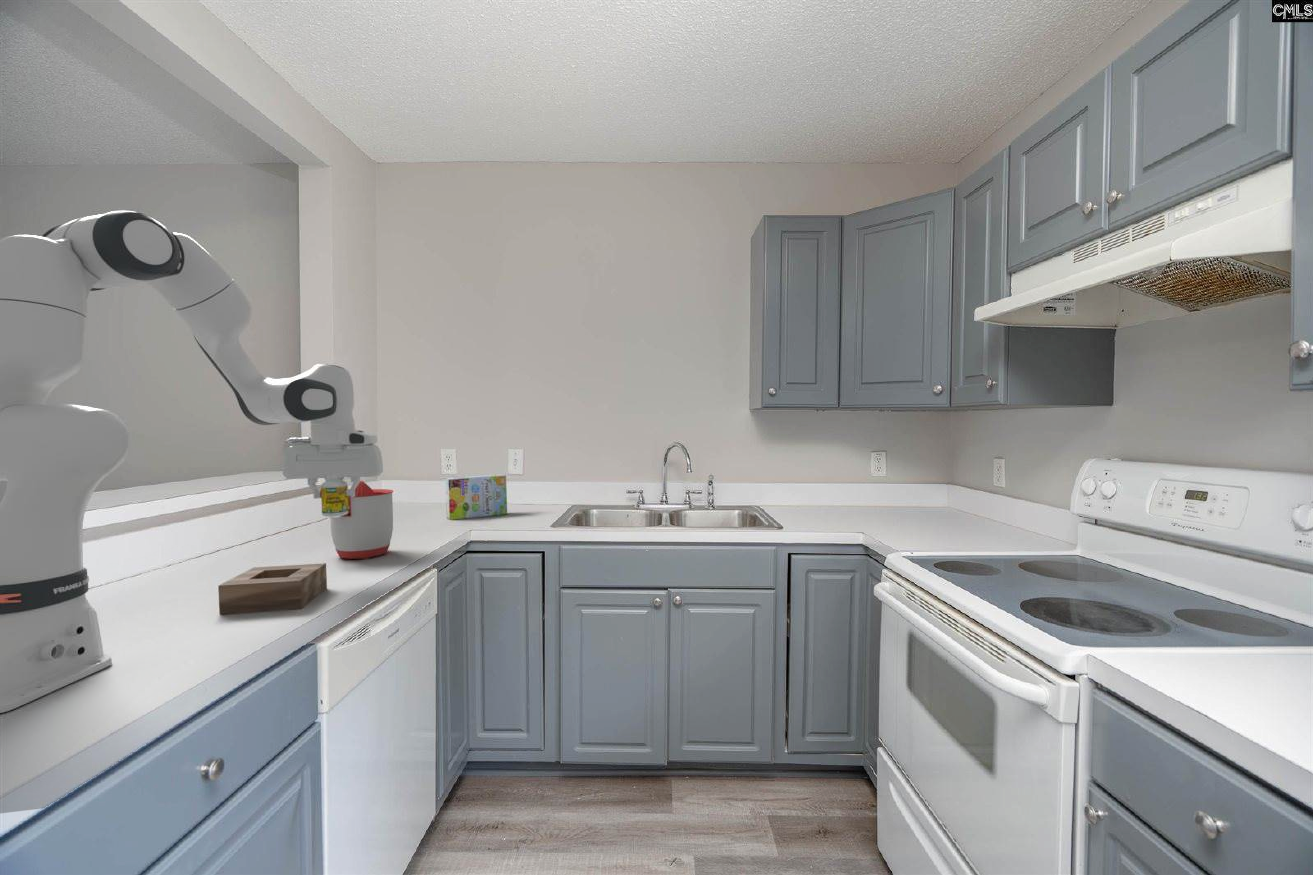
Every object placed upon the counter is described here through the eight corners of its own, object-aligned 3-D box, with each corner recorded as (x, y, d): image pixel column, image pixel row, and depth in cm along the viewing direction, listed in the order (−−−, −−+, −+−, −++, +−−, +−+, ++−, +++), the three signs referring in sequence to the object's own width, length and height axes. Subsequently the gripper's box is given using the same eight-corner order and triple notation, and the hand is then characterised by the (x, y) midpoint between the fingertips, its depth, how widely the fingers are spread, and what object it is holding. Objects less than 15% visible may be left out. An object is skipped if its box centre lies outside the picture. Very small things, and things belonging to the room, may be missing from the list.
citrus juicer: (310, 562, 152) (308, 484, 152) (361, 547, 169) (358, 477, 168) (361, 565, 148) (358, 485, 148) (407, 550, 165) (405, 478, 164)
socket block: (301, 608, 114) (300, 580, 114) (219, 614, 111) (218, 585, 111) (326, 588, 128) (326, 563, 127) (254, 593, 125) (253, 567, 125)
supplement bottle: (346, 512, 139) (345, 471, 139) (349, 515, 134) (349, 473, 134) (320, 514, 136) (319, 472, 135) (322, 517, 131) (322, 474, 131)
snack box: (503, 512, 229) (502, 473, 229) (507, 514, 224) (506, 475, 224) (446, 518, 218) (445, 477, 218) (449, 520, 213) (448, 478, 213)
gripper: (276, 438, 129) (278, 501, 130) (376, 436, 133) (378, 497, 134) (288, 437, 136) (290, 497, 136) (384, 436, 140) (385, 494, 140)
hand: (334, 497), depth 135 cm, fingers closed on supplement bottle, 5 cm apart
